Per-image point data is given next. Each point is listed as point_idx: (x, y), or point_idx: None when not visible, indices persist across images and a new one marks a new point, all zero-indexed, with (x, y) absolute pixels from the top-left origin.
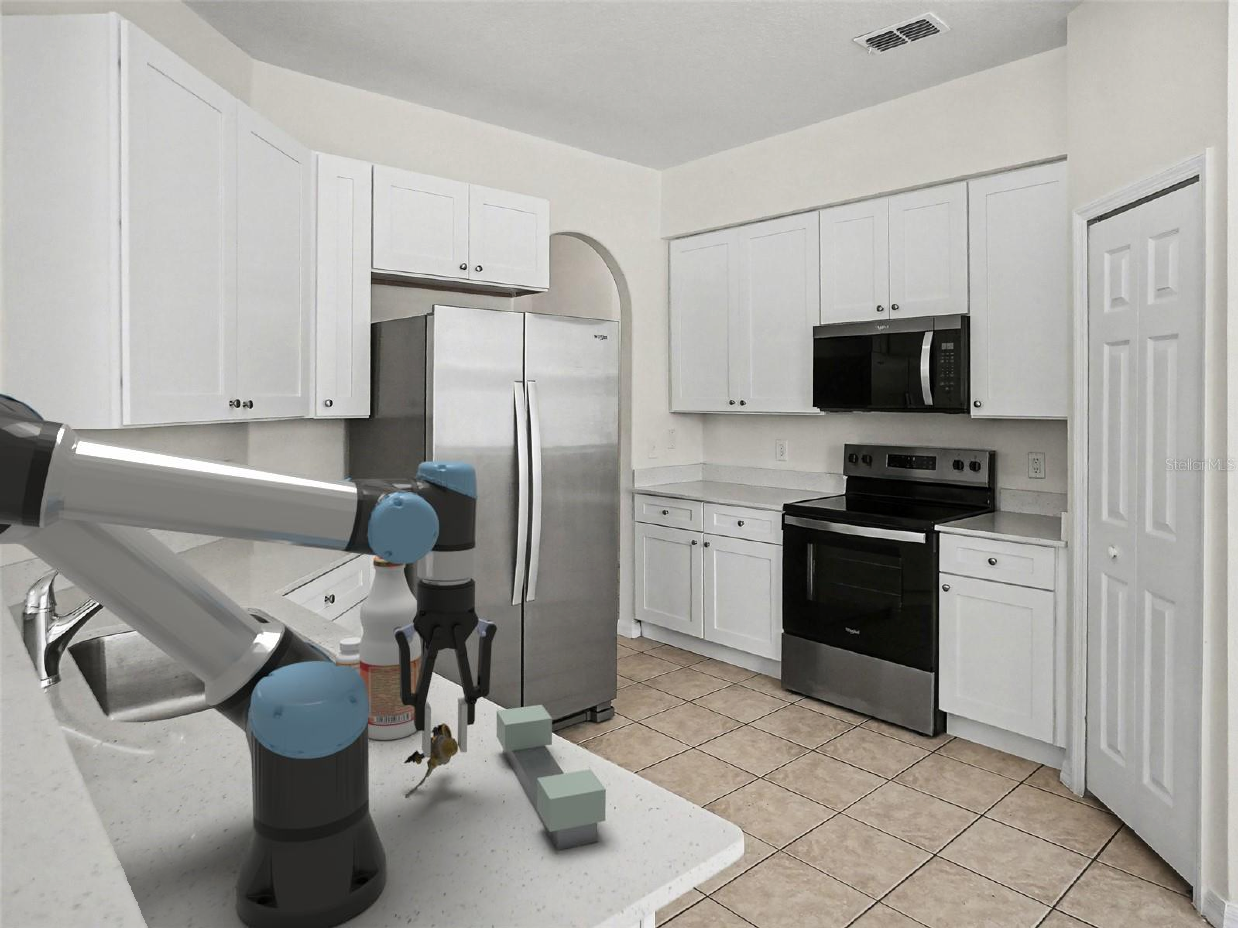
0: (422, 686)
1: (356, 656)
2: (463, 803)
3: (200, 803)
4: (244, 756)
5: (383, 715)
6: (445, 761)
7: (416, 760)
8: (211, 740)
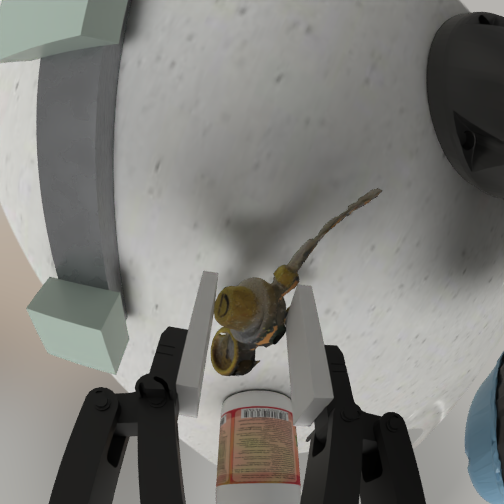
0: (353, 472)
1: None
2: (232, 193)
3: (472, 332)
4: (402, 391)
5: (278, 420)
6: (252, 278)
7: None
8: (401, 411)
